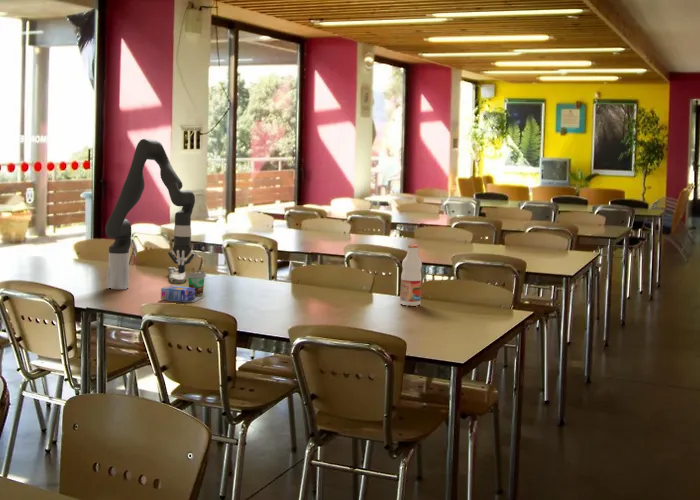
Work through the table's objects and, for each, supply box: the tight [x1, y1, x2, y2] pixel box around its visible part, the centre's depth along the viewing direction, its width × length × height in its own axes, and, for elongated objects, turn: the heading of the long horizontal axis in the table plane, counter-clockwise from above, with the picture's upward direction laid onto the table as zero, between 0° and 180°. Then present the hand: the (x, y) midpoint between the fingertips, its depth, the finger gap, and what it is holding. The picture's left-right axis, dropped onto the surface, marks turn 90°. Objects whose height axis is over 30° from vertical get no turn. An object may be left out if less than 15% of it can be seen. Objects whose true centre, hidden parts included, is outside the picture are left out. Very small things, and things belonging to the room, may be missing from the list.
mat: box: [165, 296, 204, 303], centre depth 409 cm, size 13×13×1 cm
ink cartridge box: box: [160, 285, 197, 303], centre depth 407 cm, size 10×6×14 cm
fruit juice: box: [399, 243, 423, 305], centre depth 415 cm, size 9×9×28 cm
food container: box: [187, 269, 207, 295], centre depth 427 cm, size 12×6×10 cm, turn 168°
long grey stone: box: [167, 266, 188, 285], centre depth 468 cm, size 35×5×10 cm
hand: (181, 273), depth 407 cm, fingers closed
